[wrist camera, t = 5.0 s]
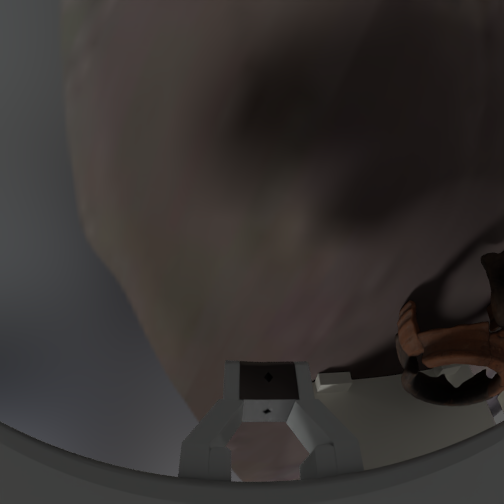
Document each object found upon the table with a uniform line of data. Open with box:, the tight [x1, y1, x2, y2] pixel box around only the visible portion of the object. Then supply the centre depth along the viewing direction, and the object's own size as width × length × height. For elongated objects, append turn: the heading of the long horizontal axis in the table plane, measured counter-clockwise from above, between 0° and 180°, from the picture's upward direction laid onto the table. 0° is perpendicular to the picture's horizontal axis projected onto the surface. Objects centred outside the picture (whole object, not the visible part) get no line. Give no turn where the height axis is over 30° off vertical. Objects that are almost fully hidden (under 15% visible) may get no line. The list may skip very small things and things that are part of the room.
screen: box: [312, 364, 496, 470], centre depth 16 cm, size 4×16×10 cm, turn 86°
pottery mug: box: [395, 251, 504, 406], centre depth 13 cm, size 12×10×8 cm
